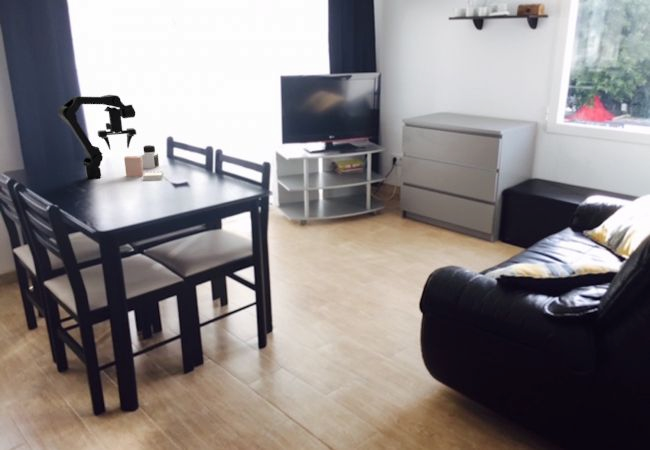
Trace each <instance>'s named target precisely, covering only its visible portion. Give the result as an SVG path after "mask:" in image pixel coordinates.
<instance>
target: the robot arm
mask: <svg viewBox="0 0 650 450" xmlns="http://www.w3.org/2000/svg"><path fill="white" fill-rule="evenodd" d="M82 105H104V106H106V107H105V109H104V112H107V113H108V115H109V122H106V123H105V128H106V129H104V130H103V129H102V130H101V129H100V130H98V131H97V137H99V138H101V139H103V140H104V141H105V143H106V146H107V148H108V149H109V150H111V144H110V140H109V136H113V135H114V136H116V135H125V134H126V148H127V149H129V147H130V144H131V140H132V138H133V137H135V135H137V130H136V129H135V128H134V127H129V128H126V129H125V130H123V125H122V119H129V118H135V117H136V110H135V108H134V107H133V104H127V105H125V103H123V101H122V100H121V98H120V96H119V95H115V94H107V95H102V96H78V95H74V96H73V97H72V98H71V99H70V100H69V101H67V102H66V103H64V105H62V106H60V107H59V108H58V109H57V115H58V117H59V118H61V120H62V121H63V122H64V123H65V124H67V125H68V127H69V128H70V130H71V131H72V133H73V134H74V135H75V137H76V139H77V140H78V142H79V143H80V144H81V147H82V148H83V153H84V155H85V157H84V159H83V160H82V165H84V169H85V173H86V176H85V177H86V179H87V180H95V179H101V177H102V172H101V168H100V166H101V163H102V161H103V157H104V156H103V152H101V150H100V147H98V146H95V145H93V144H92V143H91V141H90V139H89V137H88V136H87V134H86V133H85V131H84V130H83V128H82V127H81V126H80V123H79V122H78V117H77V114H76V113H77V112H78V110H79V108H80V107H81V106H82ZM108 130H109V131H108Z"/></svg>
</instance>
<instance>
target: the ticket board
mask: <svg viewBox="0 0 650 450" xmlns="http://www.w3.org/2000/svg"><path fill="white" fill-rule="evenodd" d="M142 177H143V181H152V180H153V181H155V180H162V179H164V177H165V175H164V171H146V172H145V173H143V176H142Z"/></svg>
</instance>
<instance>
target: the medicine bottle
mask: <svg viewBox="0 0 650 450" xmlns="http://www.w3.org/2000/svg"><path fill="white" fill-rule="evenodd" d="M142 149H143V154H142V155H141V156H142V165H143V169H145V168H147V169H149V168H150V169H151V168H157V167H158V166H160V163H159V162H160V161H159V153H158V152H156V148H155V145H153V144H152V145H151V144H149V145H144V146H143V148H142Z"/></svg>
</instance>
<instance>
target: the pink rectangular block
mask: <svg viewBox="0 0 650 450" xmlns="http://www.w3.org/2000/svg"><path fill="white" fill-rule="evenodd" d="M124 166H125V174H126V175H125V176H126V177H127V178H130V177H143V175H144V168H143V164H142V155H129V156H124Z"/></svg>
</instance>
